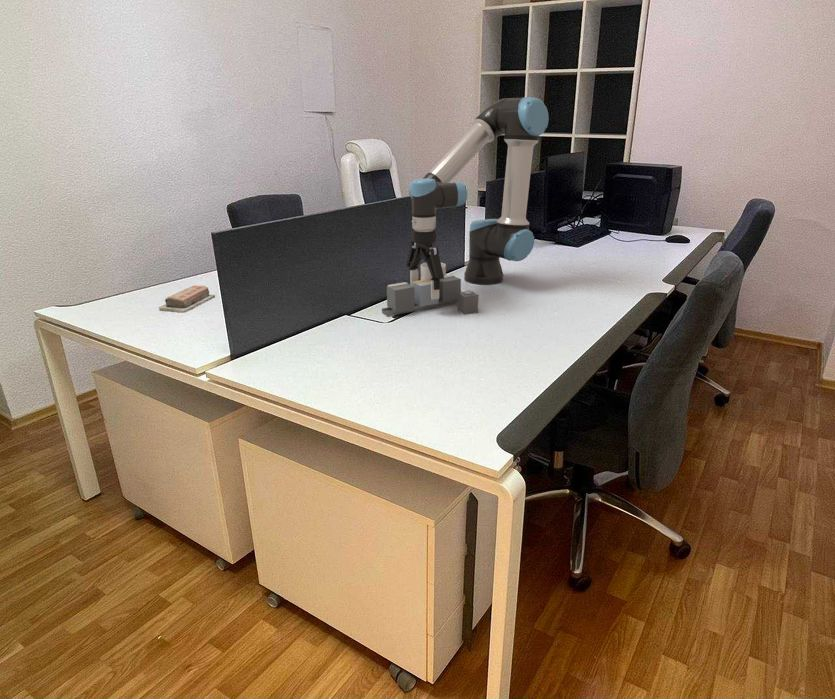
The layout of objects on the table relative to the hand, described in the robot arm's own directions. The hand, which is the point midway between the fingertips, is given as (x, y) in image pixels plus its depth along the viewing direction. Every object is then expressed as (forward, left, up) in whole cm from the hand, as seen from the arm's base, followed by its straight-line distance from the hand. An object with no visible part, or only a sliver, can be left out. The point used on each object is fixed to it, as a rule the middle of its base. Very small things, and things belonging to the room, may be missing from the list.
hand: (424, 293), depth 187 cm
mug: (-10, -12, -5) cm, 16 cm away
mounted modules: (0, 0, -3) cm, 3 cm away
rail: (0, 0, -5) cm, 5 cm away
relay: (-10, +11, -5) cm, 16 cm away
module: (0, 0, -3) cm, 3 cm away
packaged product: (+68, -46, -5) cm, 83 cm away
